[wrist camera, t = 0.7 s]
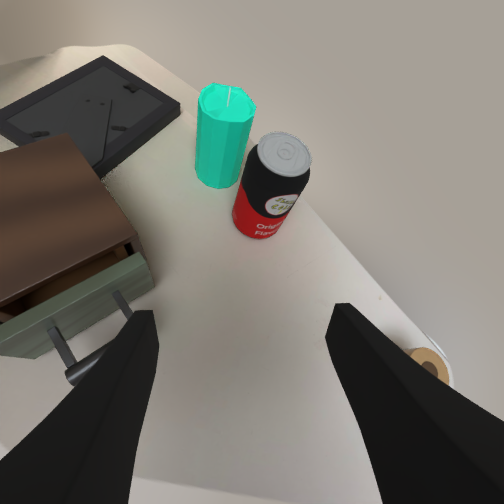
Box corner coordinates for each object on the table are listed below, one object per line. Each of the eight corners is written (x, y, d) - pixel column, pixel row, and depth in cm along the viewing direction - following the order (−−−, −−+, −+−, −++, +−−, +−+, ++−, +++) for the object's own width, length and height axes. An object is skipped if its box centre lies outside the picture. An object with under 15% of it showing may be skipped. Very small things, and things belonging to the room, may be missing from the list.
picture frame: (86, 190, 32) (180, 114, 40) (79, 178, 30) (180, 100, 38) (-5, 131, 32) (106, 68, 40) (-18, 115, 30) (102, 52, 38)
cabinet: (150, 270, 29) (137, 233, 22) (21, 343, 24) (-55, 329, 17) (95, 190, 32) (67, 131, 24) (-33, 241, 27) (-120, 187, 19)
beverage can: (222, 227, 34) (239, 157, 23) (244, 192, 37) (268, 116, 26) (267, 250, 34) (304, 192, 23) (285, 214, 37) (326, 147, 26)
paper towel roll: (412, 398, 30) (451, 402, 25) (376, 387, 30) (410, 389, 25) (411, 357, 32) (447, 354, 27) (377, 346, 32) (409, 341, 27)
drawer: (180, 324, 27) (178, 309, 21) (59, 408, 22) (12, 419, 16) (102, 208, 30) (81, 167, 24) (-18, 260, 26) (-81, 225, 19)
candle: (240, 190, 37) (262, 113, 26) (194, 187, 35) (198, 104, 25) (237, 156, 39) (257, 73, 28) (195, 151, 38) (199, 62, 27)
